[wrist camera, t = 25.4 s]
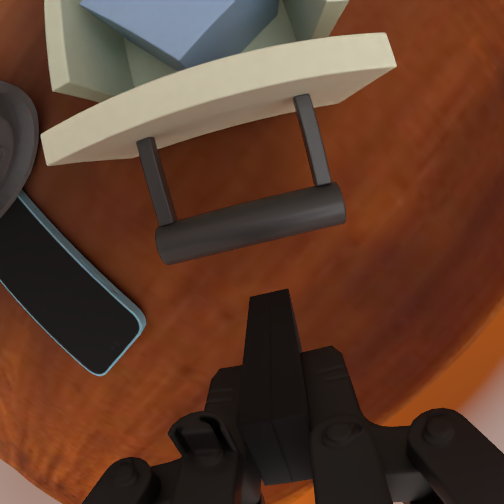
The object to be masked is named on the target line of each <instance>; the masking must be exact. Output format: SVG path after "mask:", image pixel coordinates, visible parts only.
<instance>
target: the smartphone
mask: <svg viewBox="0 0 504 504" xmlns="http://www.w3.org/2000/svg"><path fill="white" fill-rule="evenodd" d="M0 282H1V283H2V284H3V285H4V286H5V288H6V289H7V290H8V291H9V292H10V293H11V295H12V296H13V297H14V298H15V299H16V300H17V301H18V303H19V304H20V305H21V306H22V307H23V308H24V309H25V310H26V311H27V312H28V314H29V315H30V316H31V317H32V318H33V319H34V320H35V321H36V322H37V323H38V324H39V325H40V326H41V327H42V328H43V329H44V330H45V331H46V332H47V333H48V334H49V335H50V336H51V337H52V338H53V339H54V340H55V341H56V342H57V343H58V344H59V345H60V346H61V347H62V348H63V349H64V350H65V351H66V352H67V353H69V354H70V355H71V356H72V357H73V358H74V359H75V360H76V361H77V362H78V363H80V364H81V365H82V366H83V367H84V368H85V369H86V370H88V371H89V372H91V373H92V374H94V375H96V376H103V375H105V374H106V373H107V372H108V371H109V370H110V369H111V368H112V367H113V365H114V364H115V363H116V362H117V361H118V360H119V359H120V358H121V356H122V355H123V354H124V353H125V352H126V351H127V349H128V348H129V347H130V346H131V345H132V344H133V342H134V341H135V340H136V339H137V338H138V337H139V335H140V334H141V333H142V331H143V330H144V328H145V325H146V319H145V316H144V314H143V313H142V311H141V310H140V309H139V308H138V307H137V306H136V305H135V304H134V303H133V302H132V301H131V300H129V299H128V298H127V297H126V296H125V295H124V294H123V293H122V292H121V291H119V290H118V289H117V288H116V287H115V286H114V285H113V284H112V283H111V282H110V281H109V280H108V279H107V278H105V277H104V276H103V275H102V274H101V273H100V272H99V271H98V270H97V269H96V268H95V267H94V266H93V265H92V264H91V263H90V262H89V261H88V260H87V259H86V258H85V257H84V256H83V255H82V254H81V253H80V252H79V251H78V250H77V249H76V248H75V247H74V246H73V245H72V244H71V243H70V242H69V241H68V240H67V239H66V238H65V237H64V236H63V235H62V234H61V233H60V232H59V231H58V229H57V228H56V227H55V226H54V225H53V224H52V223H51V222H50V221H49V220H48V219H47V218H46V216H45V215H44V214H43V213H42V212H41V211H40V210H39V209H38V207H37V206H36V205H35V204H34V203H33V202H32V201H31V199H30V198H29V197H28V196H27V195H26V194H25V192H24V191H23V190H22V189H21V191H20V193H19V195H18V196H17V198H16V200H15V201H14V202H13V204H12V205H11V206H10V208H9V209H8V210H7V211H6V212H5V214H4V215H3V216H2V217H1V218H0Z"/></svg>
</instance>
